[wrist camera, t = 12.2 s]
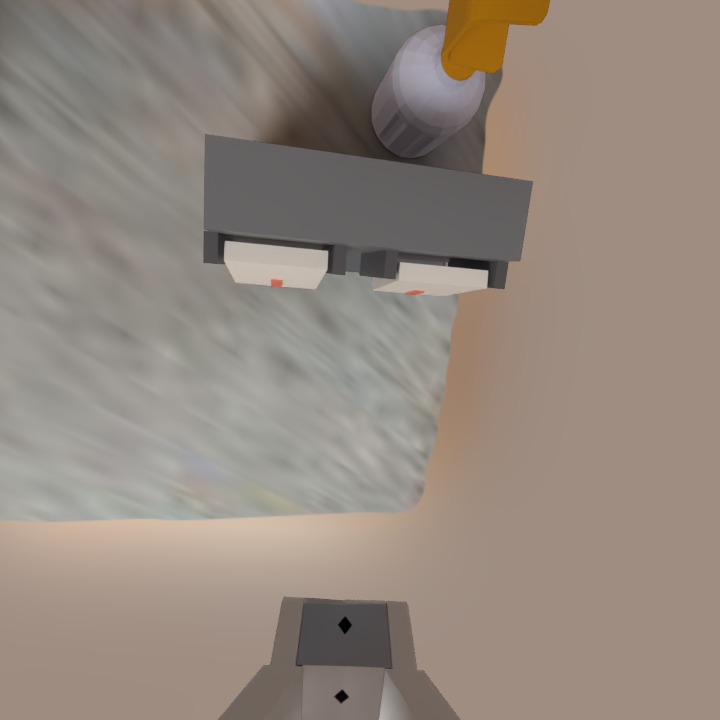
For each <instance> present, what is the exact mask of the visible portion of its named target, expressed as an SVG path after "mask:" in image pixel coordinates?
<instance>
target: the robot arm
mask: <svg viewBox="0 0 720 720" xmlns="http://www.w3.org/2000/svg"><path fill="white" fill-rule="evenodd" d="M218 720H460V718H459V717H458V716H457V715H456V713H455V712H454V710H453V709H452V708H451V706H450V705H449V704H448V702H447V701H446V700H445V698H444V697H443V696H442V694H441V693H440V692H439V690H438V689H437V688H436V686H435V685H434V684H433V682H432V681H431V680H430V678H429V677H428V676H427V674H426V673H425V672H424V671H423V670H417V664H416V657H415V651H414V643H413V636H412V629H411V623H410V615H409V609H408V605H407V603H406V602H396V601H386V602H385V601H376V600H330V599H316V598H298V597H284V598H283V600H282V603H281V609H280V614H279V619H278V625H277V630H276V636H275V641H274V647H273V653H272V657H271V663H270V665H264V666H263V667H262V668H261V669H260V670H259V671H258V672H257V674H256V675H255V676H254V677H253V679H252V680H251V681H250V682H249V683H248V684H247V686H246V687H245V688H244V689H243V690H242V691H241V693H240V694H239V695H238V696H237V697H236V699H235V700H234V701H233V702H232V703H231V705H230V706H229V707H228V708H227V709H226V711H225V712H224V713H223V714H222V716H221V717H220V718H219V719H218Z"/></svg>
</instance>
